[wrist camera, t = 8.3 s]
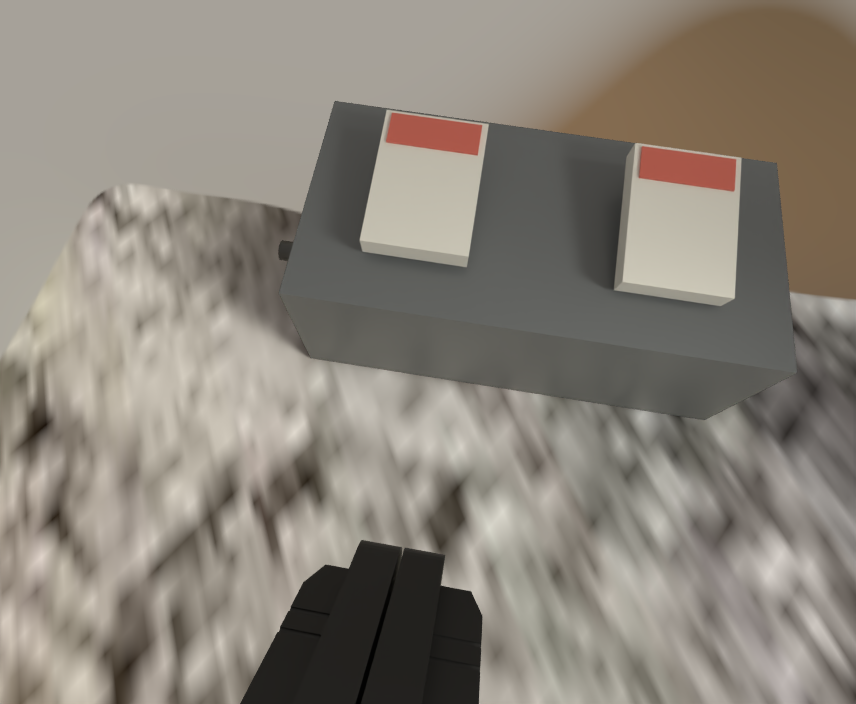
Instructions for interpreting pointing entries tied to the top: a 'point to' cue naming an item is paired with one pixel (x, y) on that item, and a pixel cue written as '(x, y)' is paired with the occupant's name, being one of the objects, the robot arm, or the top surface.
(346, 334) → the switch box
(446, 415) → the top surface
